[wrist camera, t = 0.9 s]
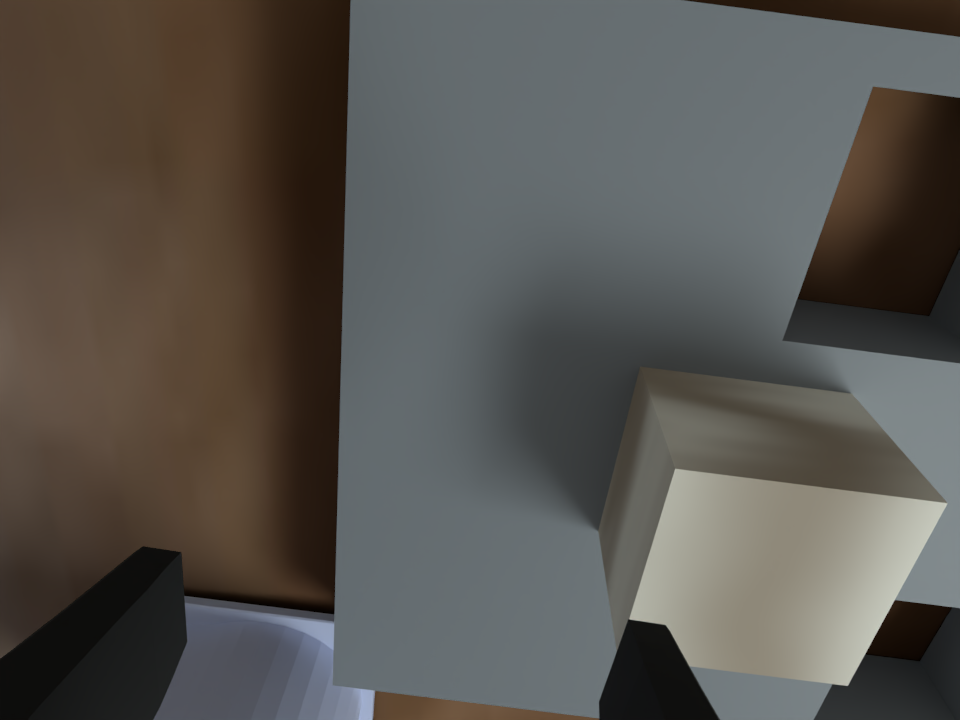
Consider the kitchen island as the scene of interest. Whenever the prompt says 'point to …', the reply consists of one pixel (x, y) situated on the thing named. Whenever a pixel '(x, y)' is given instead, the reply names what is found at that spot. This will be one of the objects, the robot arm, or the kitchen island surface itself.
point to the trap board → (599, 322)
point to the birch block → (760, 524)
